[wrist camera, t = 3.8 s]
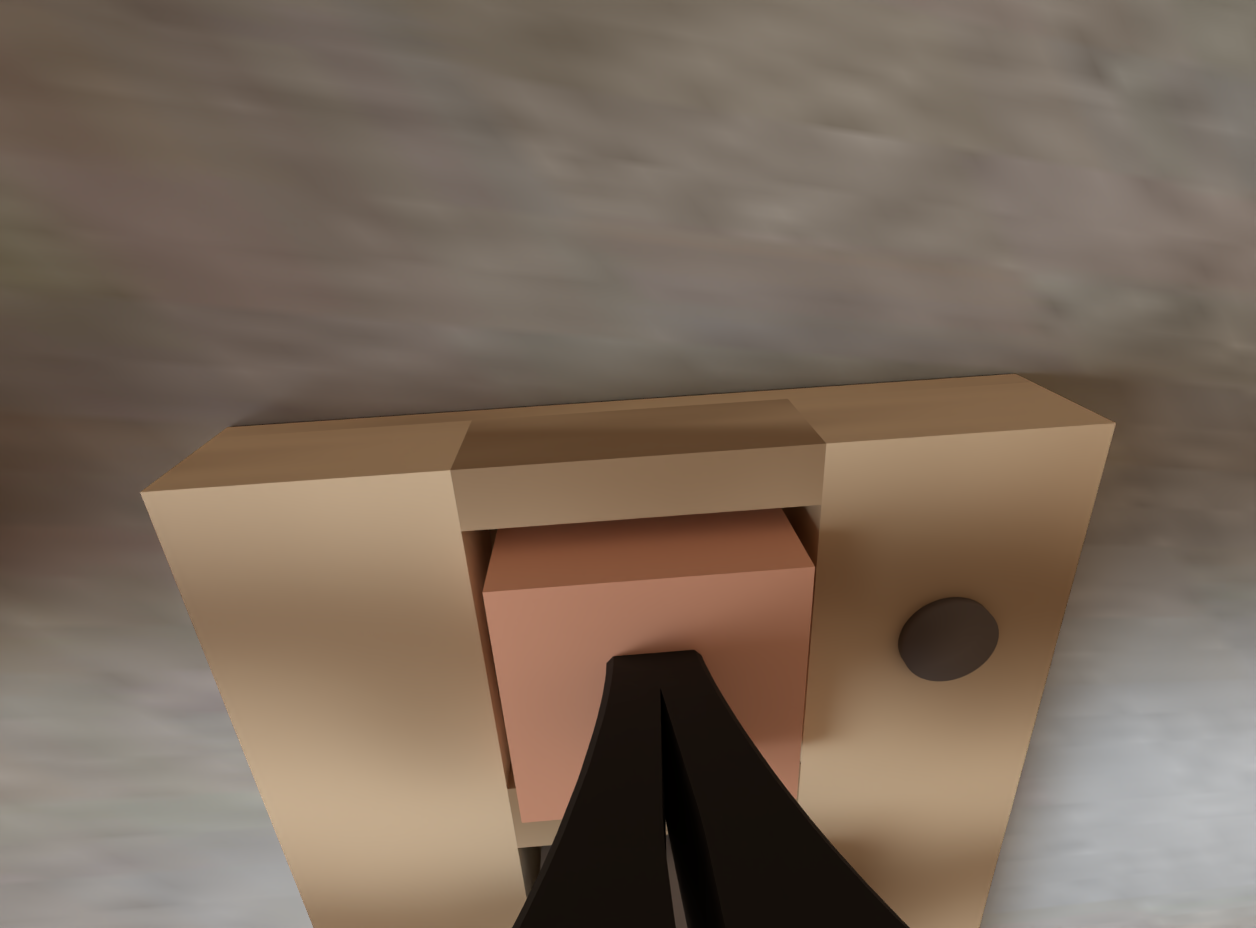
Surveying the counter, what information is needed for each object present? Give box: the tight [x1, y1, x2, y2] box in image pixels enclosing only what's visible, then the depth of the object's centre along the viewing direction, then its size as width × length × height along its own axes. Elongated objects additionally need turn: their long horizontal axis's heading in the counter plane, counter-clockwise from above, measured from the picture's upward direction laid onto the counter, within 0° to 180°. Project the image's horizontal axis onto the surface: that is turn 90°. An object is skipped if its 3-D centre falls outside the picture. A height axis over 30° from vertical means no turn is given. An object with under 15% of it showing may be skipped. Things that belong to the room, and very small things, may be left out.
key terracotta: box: [482, 508, 815, 823], centre depth 11 cm, size 5×5×3 cm
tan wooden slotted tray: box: [140, 374, 1116, 928], centre depth 15 cm, size 21×14×3 cm, turn 3°
